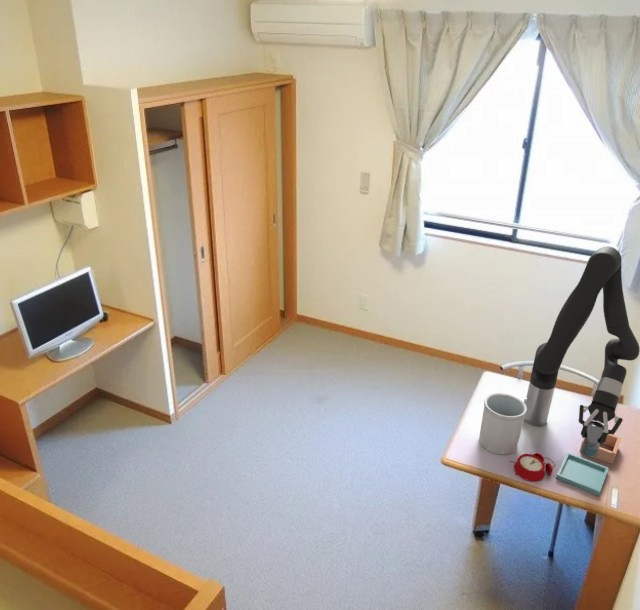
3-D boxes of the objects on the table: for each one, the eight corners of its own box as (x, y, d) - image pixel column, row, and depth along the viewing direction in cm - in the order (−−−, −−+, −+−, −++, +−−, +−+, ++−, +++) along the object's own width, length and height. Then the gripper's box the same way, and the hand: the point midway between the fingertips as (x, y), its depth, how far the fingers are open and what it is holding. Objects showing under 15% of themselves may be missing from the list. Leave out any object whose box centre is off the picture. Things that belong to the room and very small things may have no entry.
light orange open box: (579, 451, 216) (581, 442, 214) (586, 435, 225) (589, 426, 223) (612, 464, 211) (615, 454, 208) (618, 447, 219) (621, 437, 217)
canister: (579, 453, 200) (586, 427, 195) (583, 444, 203) (589, 419, 198) (595, 458, 197) (602, 432, 192) (598, 450, 201) (605, 424, 196)
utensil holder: (484, 424, 229) (491, 387, 221) (522, 438, 223) (531, 400, 215) (472, 446, 218) (479, 408, 210) (512, 461, 211) (521, 422, 203)
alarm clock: (506, 457, 208) (543, 441, 211) (507, 469, 211) (543, 454, 214) (524, 477, 199) (562, 461, 202) (524, 490, 202) (562, 473, 205)
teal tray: (555, 478, 204) (556, 474, 203) (566, 456, 214) (567, 452, 213) (598, 496, 197) (600, 492, 196) (607, 472, 207) (608, 467, 206)
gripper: (585, 383, 200) (569, 430, 197) (631, 398, 193) (615, 447, 189) (585, 389, 206) (570, 434, 203) (630, 403, 199) (614, 450, 196)
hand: (591, 440), depth 196 cm, fingers closed on canister, 5 cm apart
